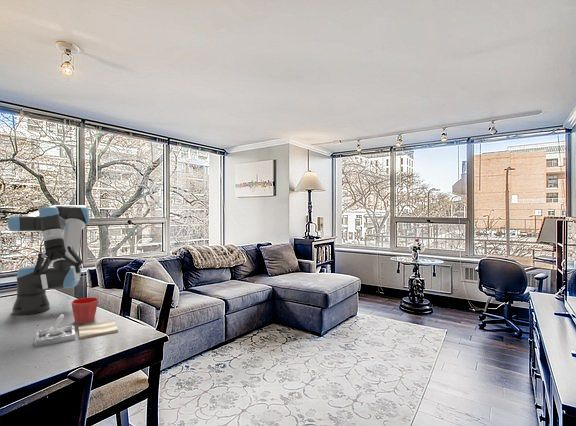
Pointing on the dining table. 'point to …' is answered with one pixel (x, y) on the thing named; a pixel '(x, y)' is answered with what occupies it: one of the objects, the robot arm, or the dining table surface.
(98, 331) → the birch pad
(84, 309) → the flower pot
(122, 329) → the dining table surface
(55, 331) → the hook
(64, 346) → the dining table surface
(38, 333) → the steel holder
